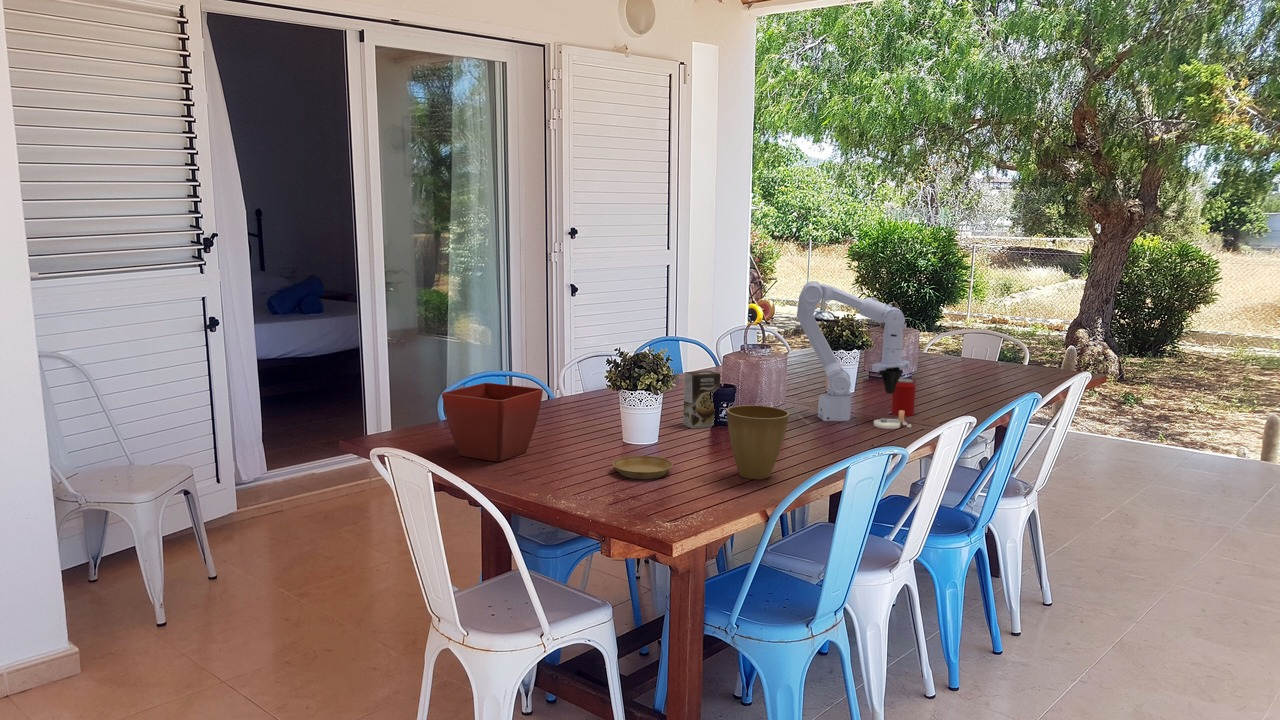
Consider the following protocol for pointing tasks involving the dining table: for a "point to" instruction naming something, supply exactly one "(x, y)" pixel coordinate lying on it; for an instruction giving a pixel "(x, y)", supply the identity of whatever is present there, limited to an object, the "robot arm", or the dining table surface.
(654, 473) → the plant saucer
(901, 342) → the robot arm
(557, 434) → the dining table surface
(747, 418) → the plant pot
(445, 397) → the plant pot
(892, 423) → the white lever switch
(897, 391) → the beverage can
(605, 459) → the dining table surface
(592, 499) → the dining table surface
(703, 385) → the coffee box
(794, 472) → the dining table surface
